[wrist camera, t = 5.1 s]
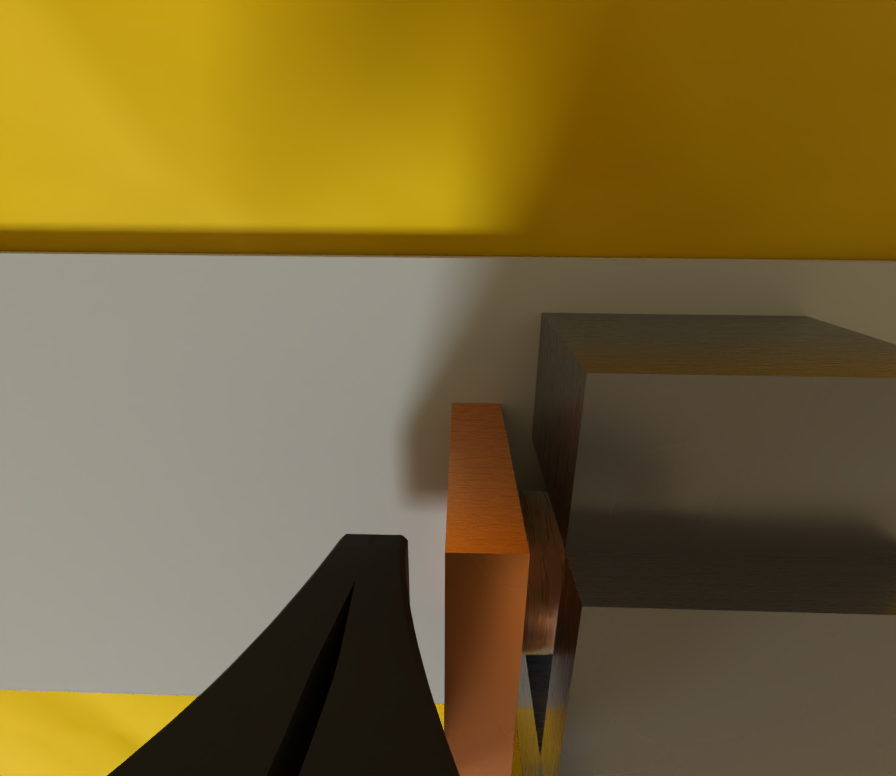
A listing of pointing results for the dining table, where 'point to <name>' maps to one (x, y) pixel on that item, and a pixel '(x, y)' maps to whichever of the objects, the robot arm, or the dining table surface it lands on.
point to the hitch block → (716, 548)
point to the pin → (493, 589)
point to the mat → (282, 428)
